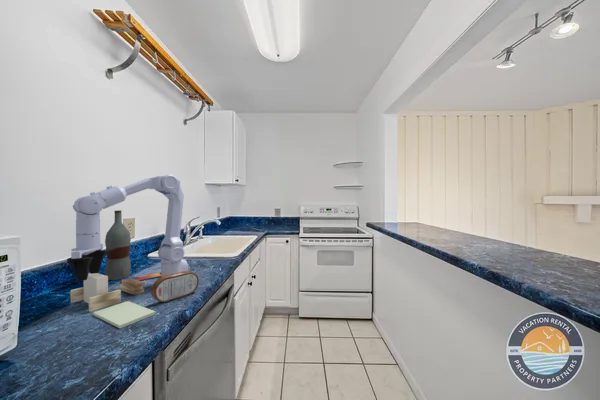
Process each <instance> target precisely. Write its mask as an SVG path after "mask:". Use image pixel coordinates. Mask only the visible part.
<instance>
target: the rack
mask: <svg viewBox="0 0 600 400" xmlns="http://www.w3.org/2000/svg"><path fill="white" fill-rule="evenodd" d="M81 301H84V286H83V287H82V286H81V287H78V288H75V289H71V290H70V303H71V304H73V303H76V302H81ZM120 303H122V290H121V289H116V290H112V291H108V293H105V294H101V295H98V296H94V297H90V298H89V303H88V312H90V313H93V312H96V311H99V310H102V309H105V308H108V307H111V306H114V305H117V304H120Z"/></svg>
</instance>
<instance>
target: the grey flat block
mask: <svg viewBox="0 0 600 400" xmlns="http://www.w3.org/2000/svg"><path fill="white" fill-rule="evenodd" d="M83 287H84V300H83V302H85V303H87V304H89V298H90V297H94V296H98V295H101V294H105V293H108V292H109V280H108V276H106V274H102V273H100V272H99V273H94V274H90V272H89V273H88V278H87V280H83Z"/></svg>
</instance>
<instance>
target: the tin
mask: <svg viewBox="0 0 600 400" xmlns="http://www.w3.org/2000/svg"><path fill="white" fill-rule="evenodd" d="M199 279H200V278H199V276H198V275H197V274H196V273H195V272H193V271H192V270H188V271H183V272H178V273H174V274H169V275H165V276H162V277H160V278H156V279H155V281H154V282H153V284H152V286H151V290H150V294H151V297H152V298H153V299H154V300H156V301H158V302H160V303H166V302H170V301H174V300H177V299H179V298H180V299H181V298H184V297H187V296H190V295H191V294H193V293H194V292H195V291H196V290H197V288H198V285H199V284H200V283H199V281H200V280H199Z"/></svg>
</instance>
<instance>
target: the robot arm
mask: <svg viewBox="0 0 600 400" xmlns="http://www.w3.org/2000/svg"><path fill="white" fill-rule="evenodd" d="M148 189H149V190H155V191H156V192H158V193H160V194H162V195H163V196H164V197H166V199H168V204H167V213H166V224H165V232H164V233H165V234H164V238H163V239H162V240H161V243H160V247H159V248H158V250H157V255H158V257H159V258H160V260H161V261H160V272H161V277H162V276H165V275H169V274H174V273H178V272H183V271H189V265H188V261H187V259H185V258H184V257H185V249H184V243H183V241H182V239H181V238H180V237H181V229H182V226H181V225H182V217H183V209H184V208H183V207H184V198H185V197H184V196H185V195H184V193H183V190H182V187H181V181H180V179H178V178H177V177H176V176H175V175H173V174H165V175H157V176H155V177H154V176H153V177H147V178H144V179H141V180H140V181H139V180H138V181H137V182H134V183H130V184H129V185H126V186H123V187H119V186H118V185H114V186H112V185H109V186H107V187H106V188H105V189H103V190H100V191H97V192H95V191H92V192H90V193H89V195H86V196H82V197H79V198H77V199H76V200H75V201H74V204H73V205H72V208H73V210H74V212H76V214H75V217H76V218H75V247H73V248H71V250H70V251H71V254H70V256H71V257H68V258H67V259H66V261H67V263H68V264H69V265H70V267H71V268H72V270H73V272H74V275H75V279H76V281H77V282H80V281H81V282H82V281H83V282H84V280H87V278H88V274H89V273H90V274H94V273H99V274H100V270H101V266H102V263H103V260H104V258H105V257H106V255H107V254H106V253H107V250H106V249H103V248H104V243H101V219H100V217H101V215H100V214H101V213H100V212H102V210H104V209H106V208H110V207H112V206H115V205H117V204H120V203H123V202H125V200H126V199H127V197H128V196H131V195H133V194H136V193H139V192H142V191H145V190H148Z"/></svg>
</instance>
